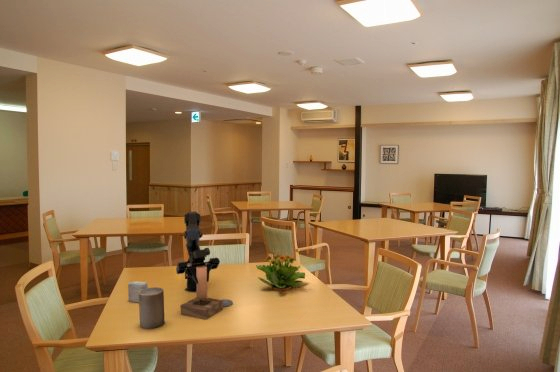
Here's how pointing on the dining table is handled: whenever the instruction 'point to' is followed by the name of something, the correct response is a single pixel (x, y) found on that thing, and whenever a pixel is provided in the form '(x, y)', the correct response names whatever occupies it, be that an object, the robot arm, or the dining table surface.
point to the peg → (201, 281)
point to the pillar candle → (151, 307)
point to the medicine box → (135, 290)
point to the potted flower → (281, 273)
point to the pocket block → (201, 307)
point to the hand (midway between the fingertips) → (202, 282)
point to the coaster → (227, 303)
